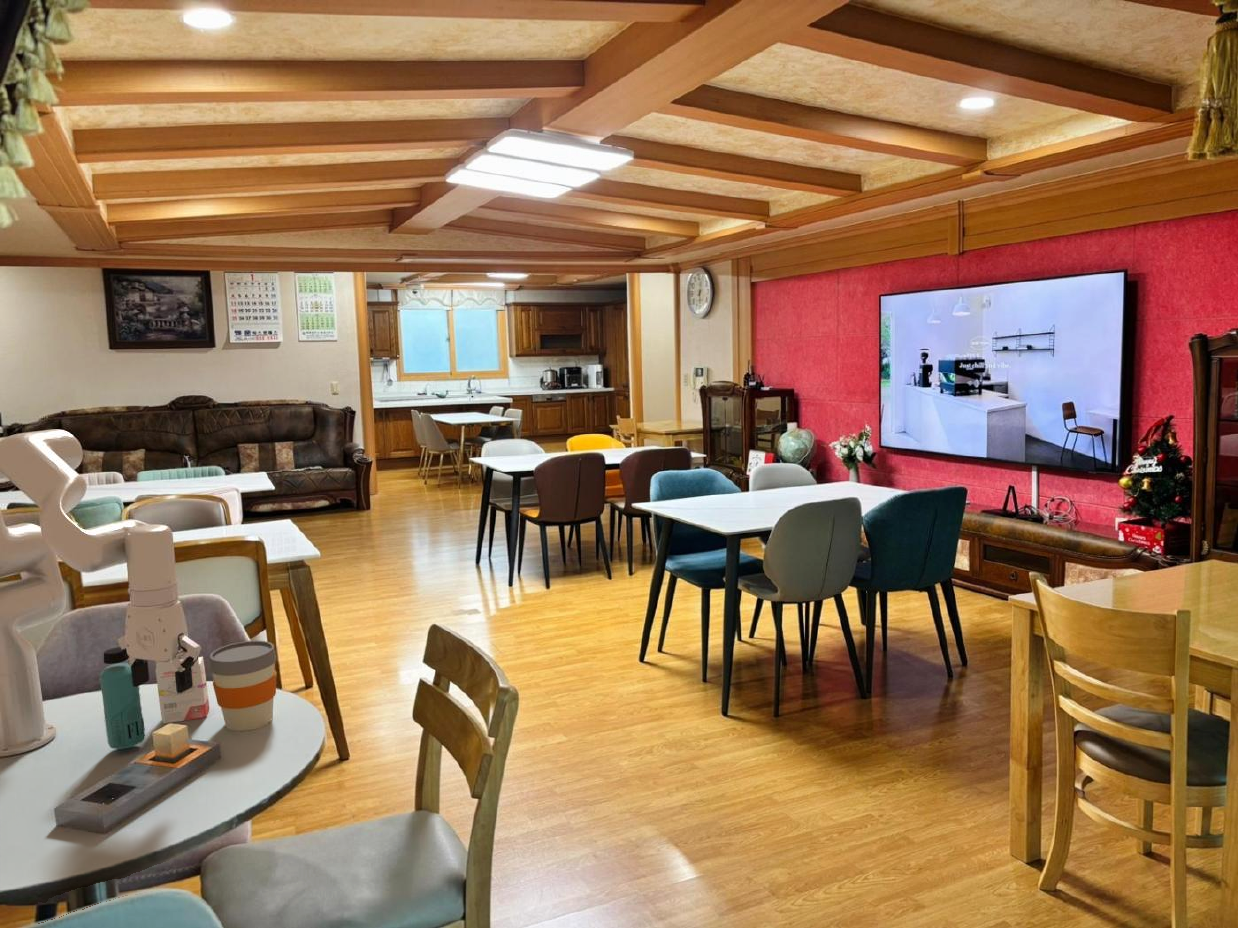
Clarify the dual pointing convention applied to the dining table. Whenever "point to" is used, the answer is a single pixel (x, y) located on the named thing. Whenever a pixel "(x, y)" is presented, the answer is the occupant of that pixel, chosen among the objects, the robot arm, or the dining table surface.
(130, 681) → the beverage bottle
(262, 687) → the reusable coffee cup
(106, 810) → the grey flat rectangular block
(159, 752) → the wooden block
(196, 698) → the ink cartridge box
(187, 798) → the dining table surface
